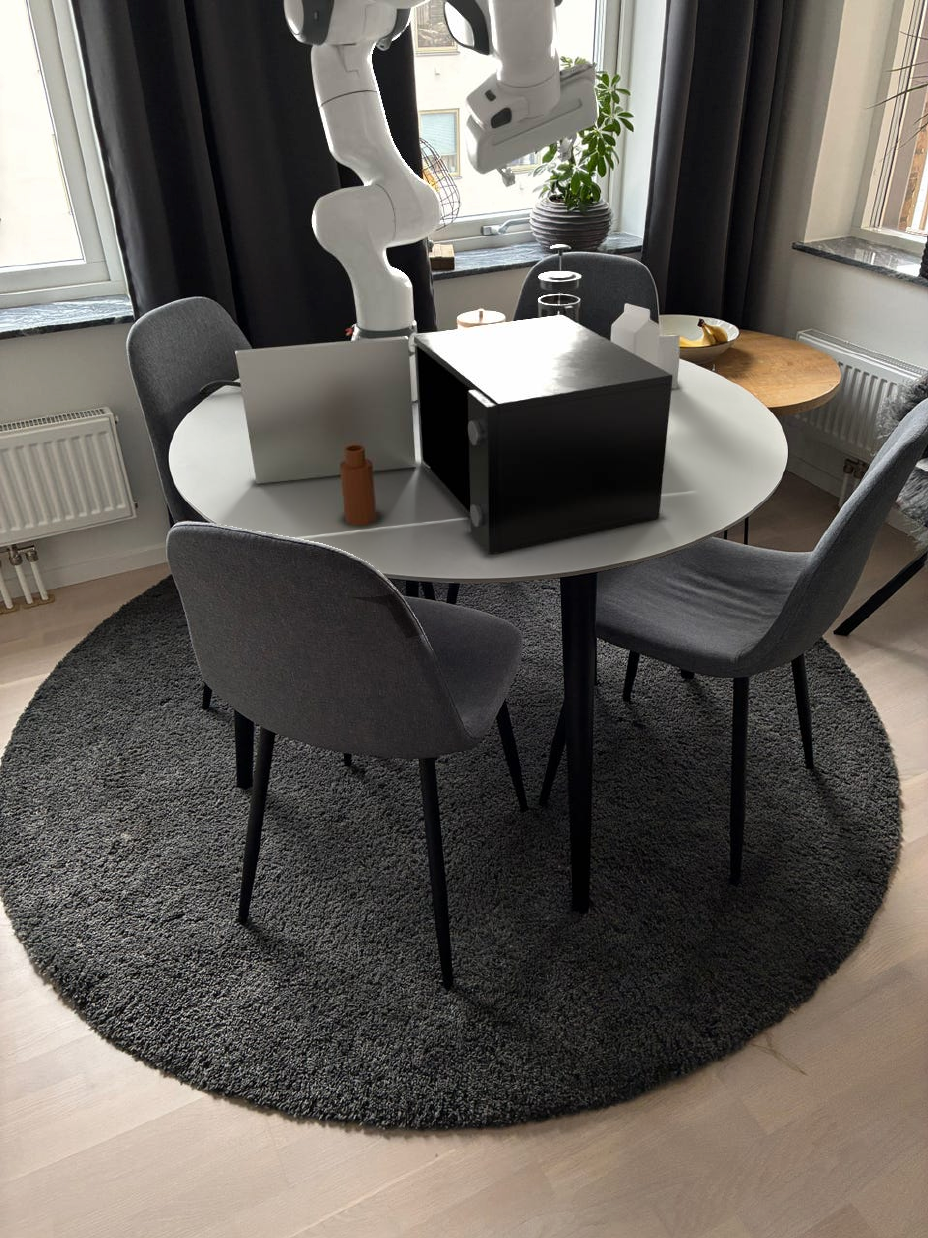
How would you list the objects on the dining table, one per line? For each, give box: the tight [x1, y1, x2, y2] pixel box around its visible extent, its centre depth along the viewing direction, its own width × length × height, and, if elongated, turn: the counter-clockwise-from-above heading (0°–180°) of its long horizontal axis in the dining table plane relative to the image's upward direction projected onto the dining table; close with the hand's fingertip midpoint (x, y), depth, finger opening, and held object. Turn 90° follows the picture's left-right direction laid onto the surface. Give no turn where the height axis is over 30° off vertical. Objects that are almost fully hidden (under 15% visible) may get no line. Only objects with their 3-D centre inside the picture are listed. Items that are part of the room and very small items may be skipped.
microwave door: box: [235, 336, 417, 485], centre depth 153 cm, size 7×27×22 cm, turn 101°
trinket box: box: [456, 308, 506, 330], centre depth 209 cm, size 11×11×9 cm
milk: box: [610, 302, 662, 366], centre depth 164 cm, size 6×6×22 cm
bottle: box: [340, 445, 378, 526], centre depth 140 cm, size 5×5×12 cm
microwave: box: [414, 314, 673, 555], centre depth 143 cm, size 28×34×22 cm
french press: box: [537, 244, 582, 324], centre depth 201 cm, size 12×9×23 cm
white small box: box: [657, 334, 681, 389], centre depth 187 cm, size 4×7×10 cm, turn 91°
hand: (536, 170), depth 143 cm, fingers open, 8 cm apart
